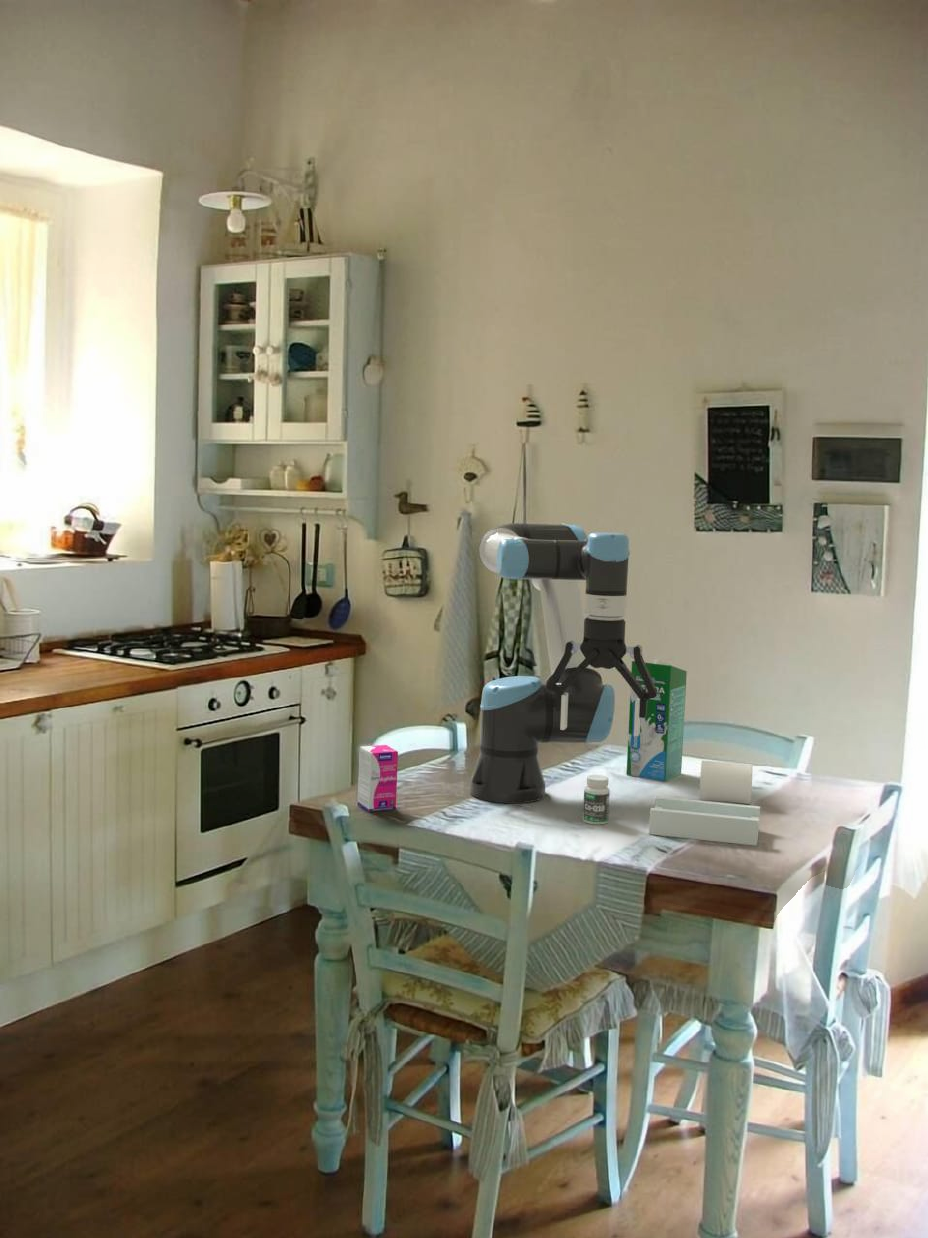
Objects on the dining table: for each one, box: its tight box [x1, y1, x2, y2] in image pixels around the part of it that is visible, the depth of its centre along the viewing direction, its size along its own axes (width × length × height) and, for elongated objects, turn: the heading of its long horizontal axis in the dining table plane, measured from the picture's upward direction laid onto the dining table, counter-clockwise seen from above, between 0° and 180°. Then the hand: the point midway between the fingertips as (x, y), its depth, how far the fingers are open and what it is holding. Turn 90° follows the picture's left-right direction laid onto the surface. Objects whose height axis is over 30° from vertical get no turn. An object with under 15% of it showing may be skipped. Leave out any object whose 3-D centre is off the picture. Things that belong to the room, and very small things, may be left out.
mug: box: [698, 760, 753, 805], centre depth 249 cm, size 12×10×8 cm
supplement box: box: [357, 744, 399, 813], centre depth 235 cm, size 6×6×12 cm
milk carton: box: [626, 659, 688, 782], centre depth 267 cm, size 9×9×25 cm
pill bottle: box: [582, 774, 611, 826], centre depth 230 cm, size 5×5×8 cm
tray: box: [648, 795, 761, 847], centre depth 225 cm, size 19×10×4 cm, turn 75°
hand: (599, 731), depth 228 cm, fingers open, 13 cm apart
